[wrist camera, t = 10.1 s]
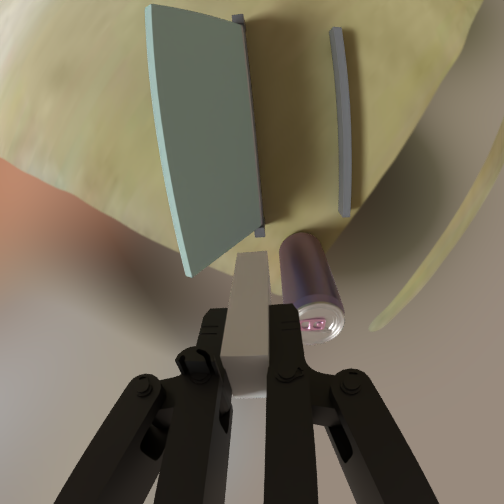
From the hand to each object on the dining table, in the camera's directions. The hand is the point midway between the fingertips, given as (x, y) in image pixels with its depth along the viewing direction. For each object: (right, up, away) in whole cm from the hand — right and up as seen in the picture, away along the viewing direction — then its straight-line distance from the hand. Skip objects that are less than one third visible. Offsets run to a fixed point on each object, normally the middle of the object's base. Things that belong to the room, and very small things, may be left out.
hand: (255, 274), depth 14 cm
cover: (-3, +12, +8) cm, 15 cm away
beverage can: (+7, +2, +24) cm, 24 cm away
